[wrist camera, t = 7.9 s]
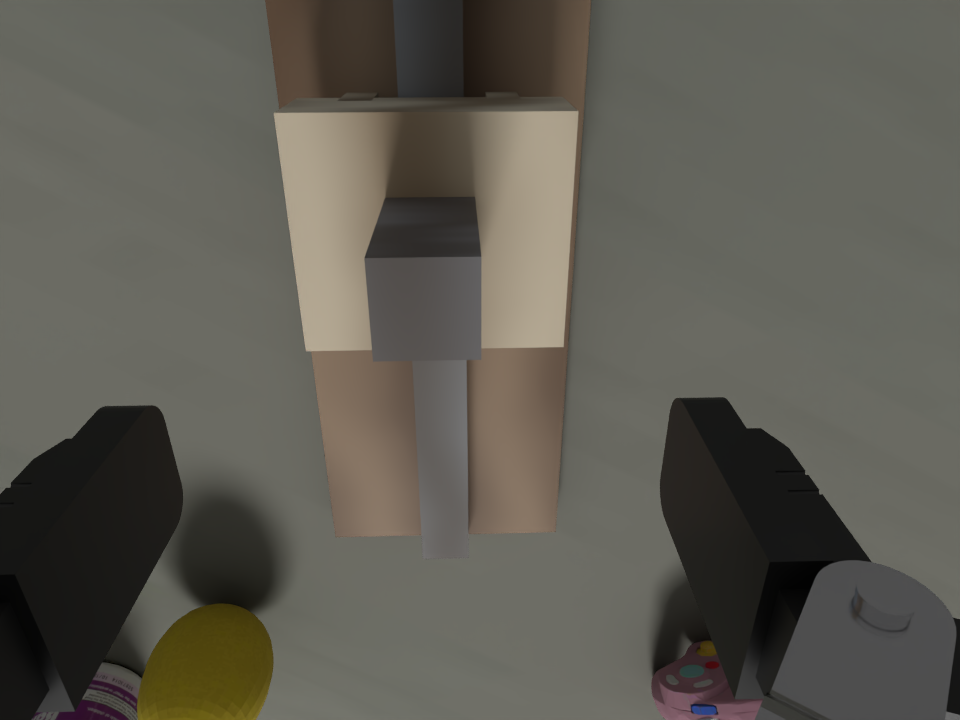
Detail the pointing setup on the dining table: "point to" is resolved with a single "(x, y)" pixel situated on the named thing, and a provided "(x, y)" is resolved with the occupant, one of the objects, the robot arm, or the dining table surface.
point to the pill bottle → (104, 697)
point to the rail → (501, 371)
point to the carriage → (429, 221)
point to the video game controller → (699, 689)
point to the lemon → (208, 667)
